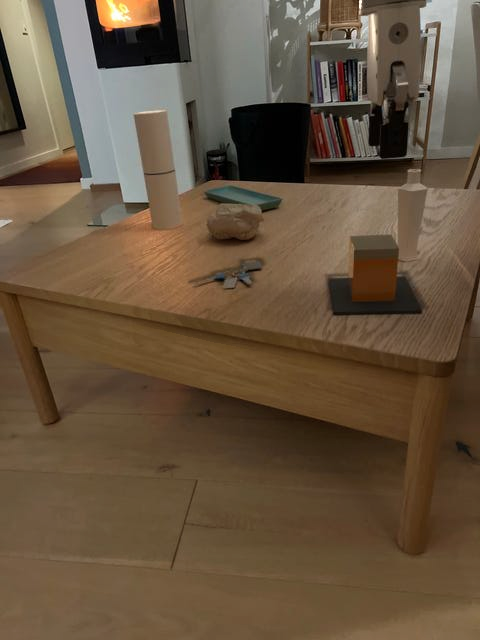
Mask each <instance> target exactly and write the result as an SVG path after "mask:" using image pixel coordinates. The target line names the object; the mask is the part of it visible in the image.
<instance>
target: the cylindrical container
mask: <svg viewBox="0 0 480 640" xmlns="http://www.w3.org/2000/svg"><path fill="white" fill-rule="evenodd" d="M168 116H169V115H168V110H167V109H161V110H160V109H158V110H148V111H139V112H134V113H133V119H134V126H135V132H136V136H137V142H138V148H139V155H140V160H141V161H140V162H141V166H142V167H141V168H142V173H143V178H144V184H145V189H146V196H147V201H148V202H147V203H148V206H149V213H150V218H151V225H152V228H153V230H158V231H168V230H173V229H177V228H180V227H182V226H183V218H182V209H181V203H180V196H179V188H178V181H177V174H176V166H175V158H174V153H173V152H174V151H173V145H172V139H171V130H170V123H169V118H168Z"/></svg>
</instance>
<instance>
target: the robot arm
mask: <svg viewBox="0 0 480 640" xmlns="http://www.w3.org/2000/svg"><path fill="white" fill-rule="evenodd" d="M425 7H427V0H358V16H360V17H368V22H367V23H368V25H367V48H366V49H367V50H366V51H367V52H366V90H367V91H366V92H367V93H366V94H367V99H368V100H369V101H370V105H369V106H370V107H369V116H368V137H367V138H368V139H367V140H368V141H367V143H368V146H369V147H379V153H378V156H379V158H380V159H381V160H387V159H398V158H400V159H401V158H406V156H407V154H408V141H409V125H410V123H409V120H410V113H409V105H410V103H411V104H412V103H415V102H416V101H417V100H418V99H419V96H420V79H421V78H420V77H421V72H420V71H421V42H422V41H421V40H422V39H421V37H422V36H421V33H422V32H421V31H422V30H421V27H422V26H421V9H423V8H425Z"/></svg>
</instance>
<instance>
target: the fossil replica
mask: <svg viewBox="0 0 480 640" xmlns="http://www.w3.org/2000/svg"><path fill="white" fill-rule="evenodd" d="M264 221H265V217H264V216H263V211H261V208H260V207H259V206H257V205H246V204H225V203H219V205H218V206H217V208H216V210H215V212H214V213H212V214H210V215H209V217H207V220H206V226H207V227H206V229H207V230H208V233H209V234H211V236H212V237H214V238H215V239H219V240H221V241H222V240H229V239H232V238H235V239H237V240H240V241H244V240H245V241H247V240H250V239H252V238H253V237H255V236H256V234H257V232H258V229H260V223H261V222H264Z"/></svg>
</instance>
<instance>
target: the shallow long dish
mask: <svg viewBox="0 0 480 640" xmlns="http://www.w3.org/2000/svg"><path fill="white" fill-rule="evenodd" d="M203 193H204V194H205V196H206V197H207V199H210V200H214V201H216V202H220V203H221V204H246V205H257V206H259V207H260V208H261V211H262V212H263V211H266V210H271V209H275V208H278V207H279V206H280V205H281V203H282V201H283V199H284V198H283V197H279V196H275V195H272V194H267V193H262V192H259V191H255V190H252V189H247V188H243V187H240V186H237V185H232V184H228V185H224V186H219V187H213V188H210V189H205V190H203Z"/></svg>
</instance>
